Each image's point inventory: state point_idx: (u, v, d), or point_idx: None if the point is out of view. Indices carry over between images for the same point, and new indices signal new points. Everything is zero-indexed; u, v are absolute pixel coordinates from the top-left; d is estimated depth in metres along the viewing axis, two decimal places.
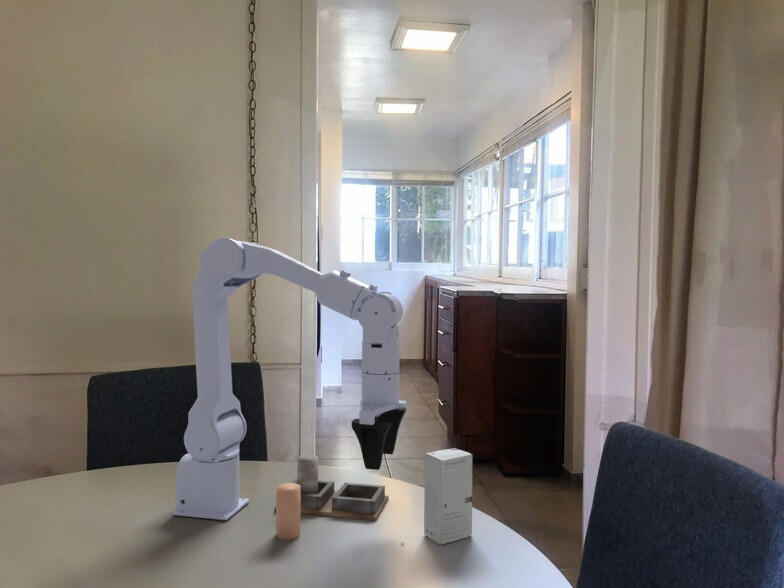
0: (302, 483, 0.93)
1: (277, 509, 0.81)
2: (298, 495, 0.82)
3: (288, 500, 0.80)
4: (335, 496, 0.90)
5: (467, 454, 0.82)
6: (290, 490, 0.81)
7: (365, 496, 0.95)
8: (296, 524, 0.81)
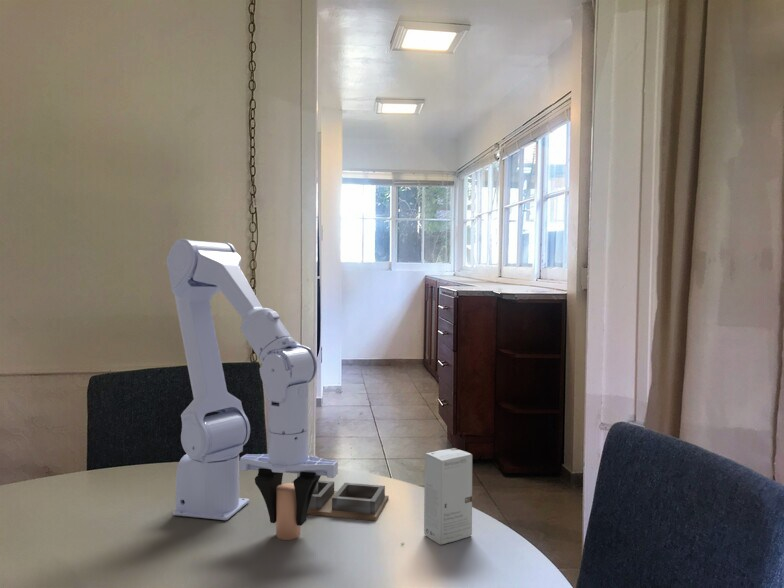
0: None
1: (277, 509, 0.81)
2: None
3: (288, 500, 0.80)
4: (335, 496, 0.90)
5: (467, 454, 0.82)
6: (290, 490, 0.81)
7: (365, 496, 0.95)
8: (296, 524, 0.81)
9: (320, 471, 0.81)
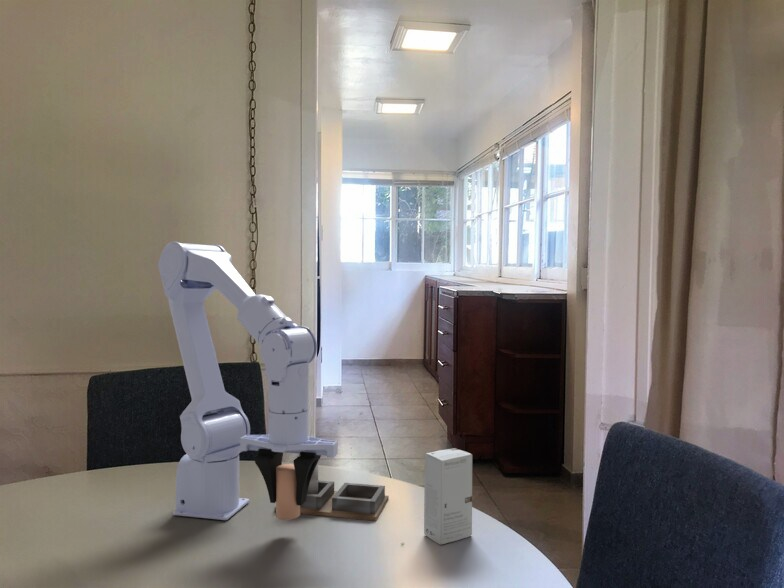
0: None
1: (277, 489, 0.81)
2: None
3: (288, 480, 0.80)
4: (335, 496, 0.90)
5: (467, 454, 0.82)
6: (290, 470, 0.81)
7: (365, 496, 0.95)
8: (296, 504, 0.81)
9: (320, 451, 0.81)
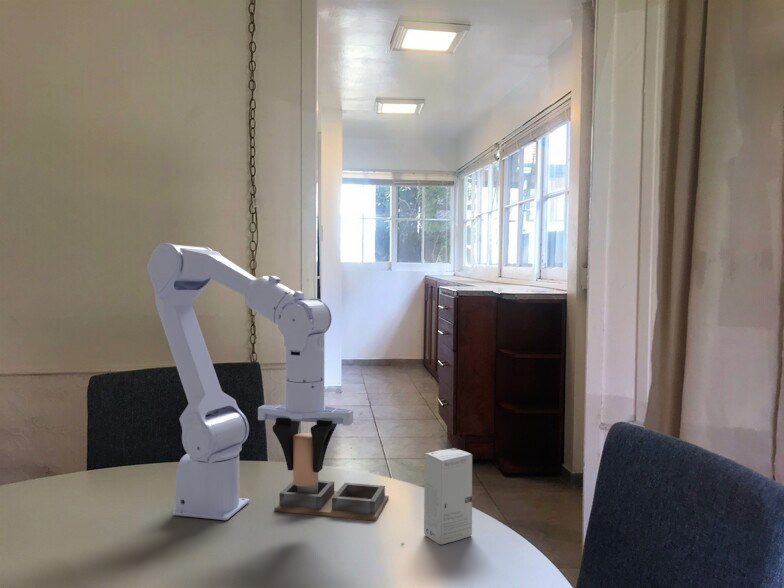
0: None
1: (294, 457, 0.83)
2: None
3: (305, 447, 0.82)
4: (335, 496, 0.90)
5: (467, 454, 0.82)
6: (307, 438, 0.83)
7: (365, 496, 0.95)
8: (312, 472, 0.83)
9: (336, 419, 0.83)
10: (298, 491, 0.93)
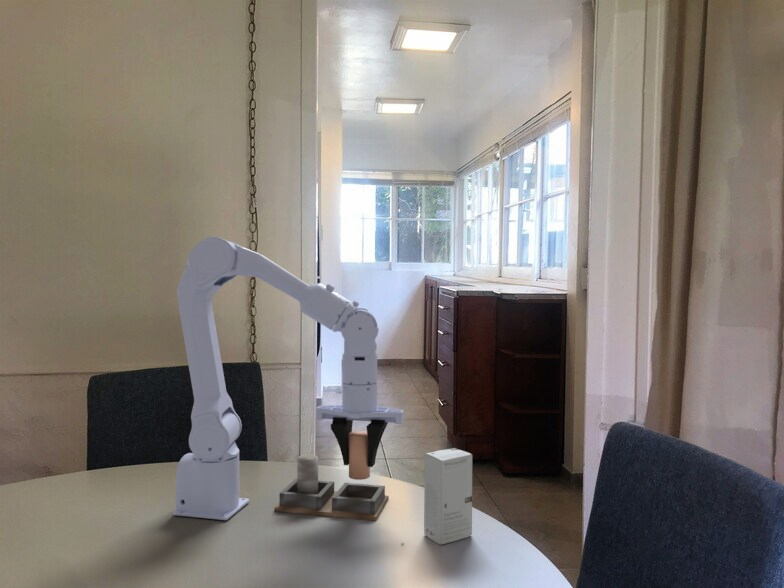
0: (302, 483, 0.93)
1: (350, 453, 0.91)
2: None
3: (360, 444, 0.90)
4: (335, 496, 0.90)
5: (467, 454, 0.82)
6: (362, 436, 0.91)
7: (365, 496, 0.95)
8: (367, 466, 0.91)
9: (389, 418, 0.91)
10: (298, 491, 0.93)
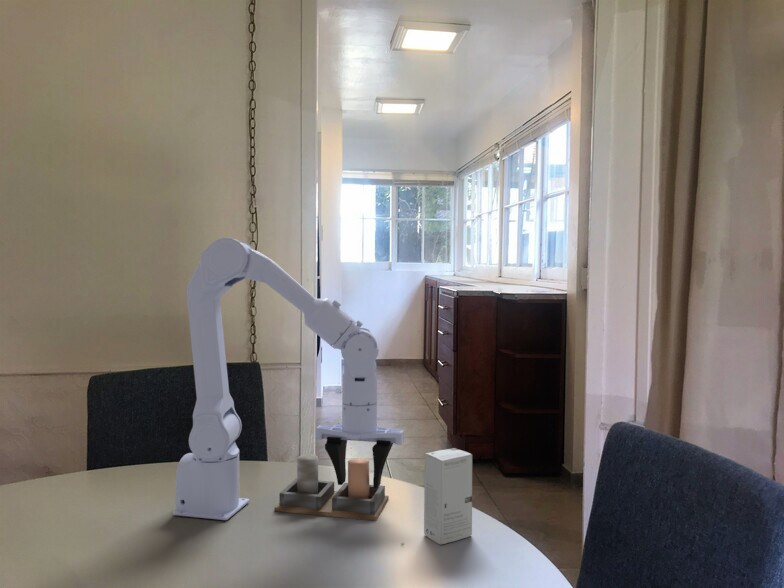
0: (302, 483, 0.93)
1: (349, 481, 0.91)
2: (367, 468, 0.92)
3: (359, 472, 0.91)
4: (335, 496, 0.90)
5: (467, 454, 0.82)
6: (361, 464, 0.91)
7: None
8: (366, 494, 0.91)
9: (388, 439, 0.91)
10: (298, 491, 0.93)
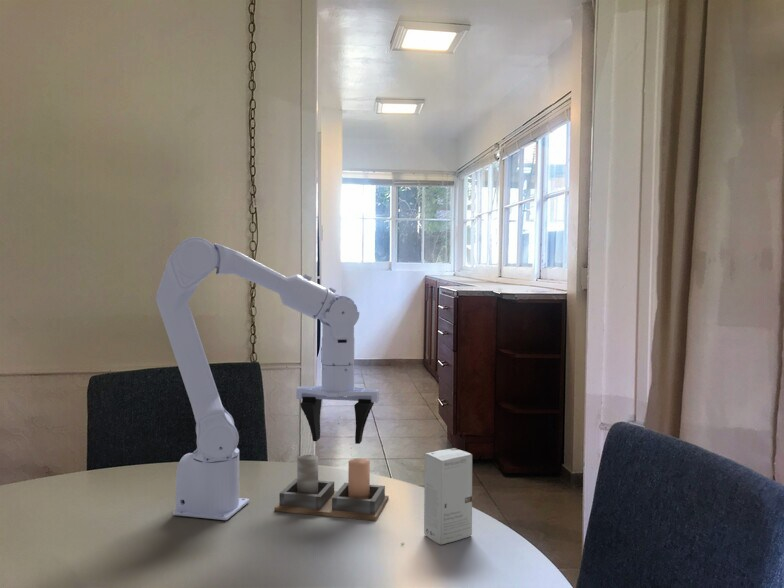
0: (302, 483, 0.93)
1: (350, 481, 0.91)
2: (368, 468, 0.92)
3: (360, 472, 0.91)
4: (335, 496, 0.90)
5: (467, 454, 0.82)
6: (361, 464, 0.91)
7: None
8: (366, 494, 0.91)
9: (365, 397, 0.97)
10: (298, 491, 0.93)
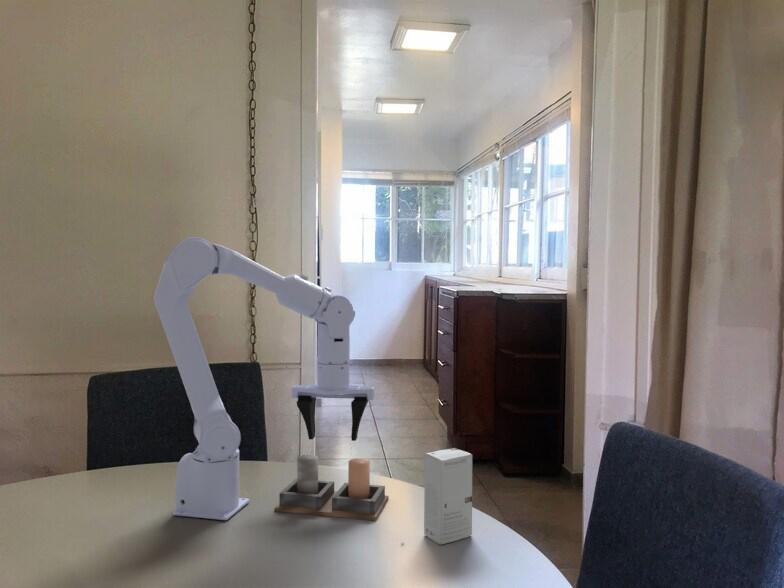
0: (302, 483, 0.93)
1: (350, 481, 0.91)
2: (368, 468, 0.92)
3: (360, 472, 0.91)
4: (335, 496, 0.90)
5: (467, 454, 0.82)
6: (361, 464, 0.91)
7: None
8: (366, 494, 0.91)
9: (361, 395, 0.99)
10: (298, 491, 0.93)
